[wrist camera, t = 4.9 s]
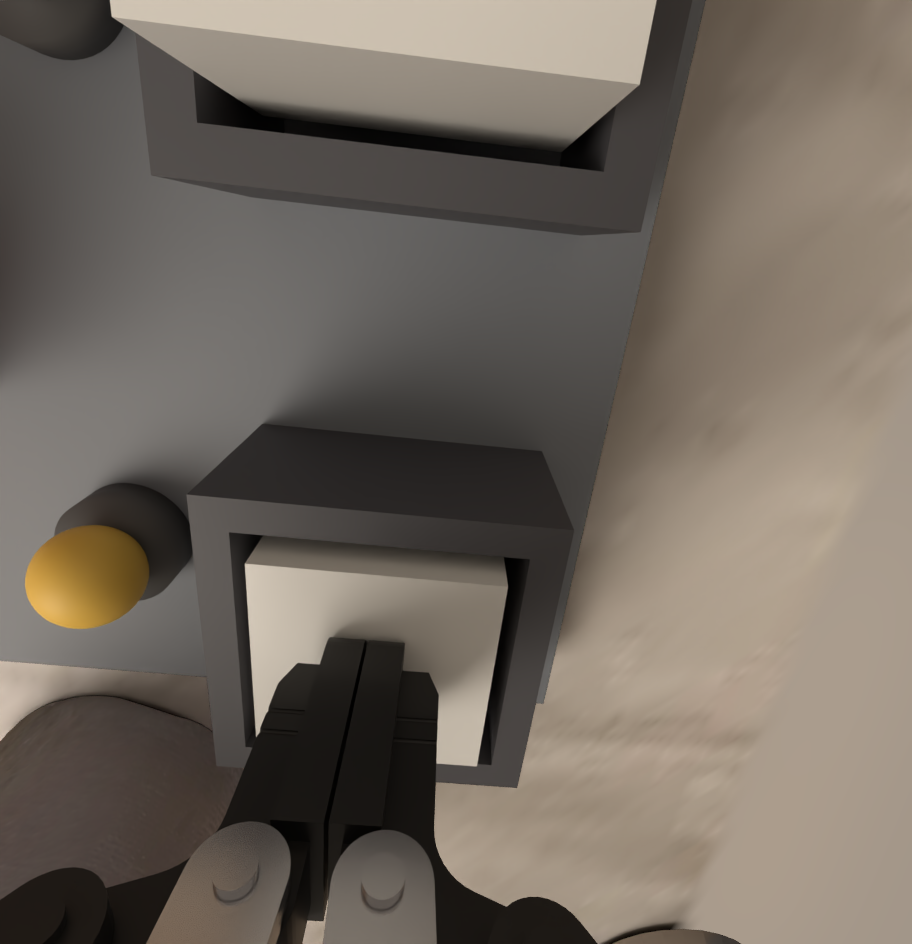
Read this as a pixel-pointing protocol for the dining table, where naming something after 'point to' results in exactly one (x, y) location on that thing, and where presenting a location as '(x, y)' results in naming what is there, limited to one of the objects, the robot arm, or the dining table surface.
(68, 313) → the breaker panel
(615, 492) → the dining table surface
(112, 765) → the pillar candle
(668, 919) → the dining table surface
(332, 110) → the block
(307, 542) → the button
